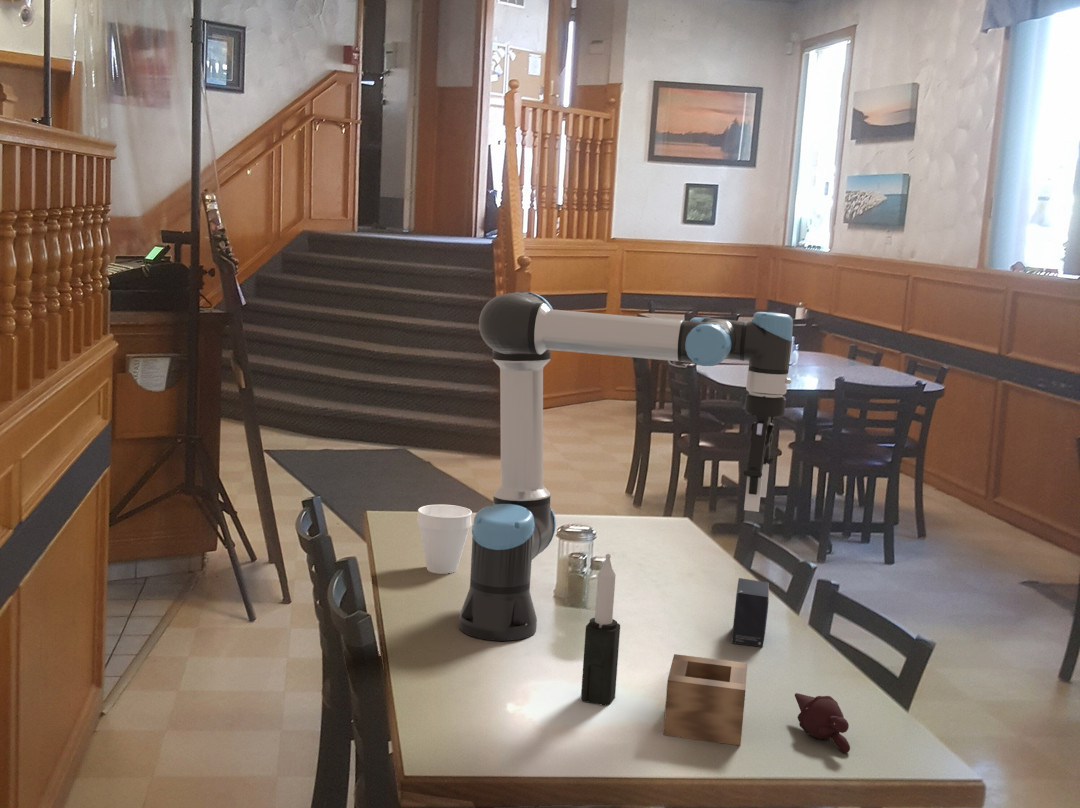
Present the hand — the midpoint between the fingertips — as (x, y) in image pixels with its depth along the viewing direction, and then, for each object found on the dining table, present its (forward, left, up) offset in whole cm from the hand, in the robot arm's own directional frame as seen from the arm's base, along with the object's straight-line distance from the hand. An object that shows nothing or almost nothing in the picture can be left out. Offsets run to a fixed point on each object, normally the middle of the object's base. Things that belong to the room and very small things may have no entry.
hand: (755, 503), depth 226 cm
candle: (-23, -38, -28) cm, 53 cm away
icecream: (+13, -41, -28) cm, 52 cm away
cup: (-68, +24, -28) cm, 77 cm away
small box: (+1, +3, -28) cm, 28 cm away
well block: (-5, -43, -28) cm, 52 cm away
